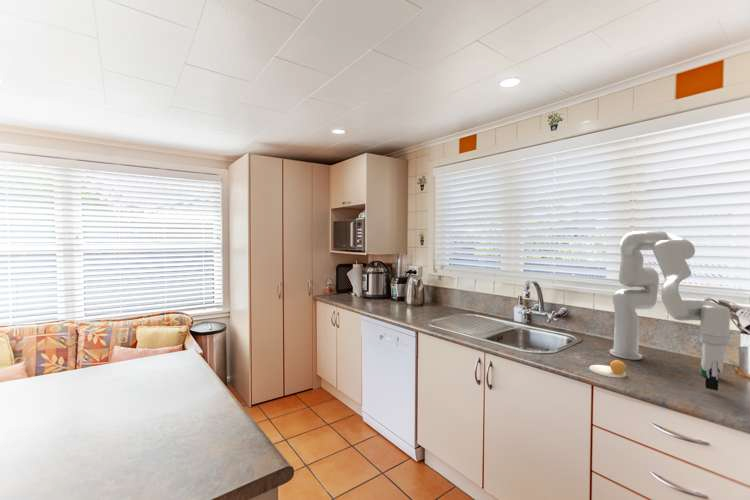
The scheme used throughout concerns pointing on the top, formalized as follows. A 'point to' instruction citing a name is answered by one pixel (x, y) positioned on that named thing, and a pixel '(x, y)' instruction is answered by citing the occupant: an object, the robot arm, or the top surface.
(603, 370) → the disc
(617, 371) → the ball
